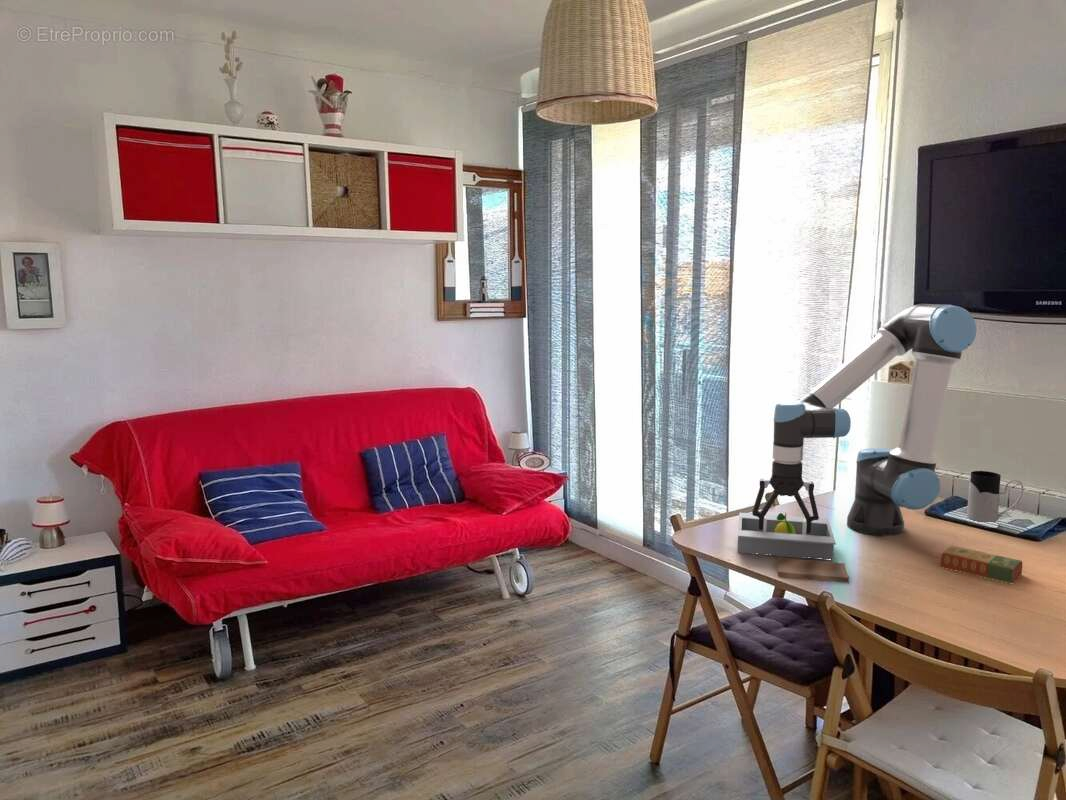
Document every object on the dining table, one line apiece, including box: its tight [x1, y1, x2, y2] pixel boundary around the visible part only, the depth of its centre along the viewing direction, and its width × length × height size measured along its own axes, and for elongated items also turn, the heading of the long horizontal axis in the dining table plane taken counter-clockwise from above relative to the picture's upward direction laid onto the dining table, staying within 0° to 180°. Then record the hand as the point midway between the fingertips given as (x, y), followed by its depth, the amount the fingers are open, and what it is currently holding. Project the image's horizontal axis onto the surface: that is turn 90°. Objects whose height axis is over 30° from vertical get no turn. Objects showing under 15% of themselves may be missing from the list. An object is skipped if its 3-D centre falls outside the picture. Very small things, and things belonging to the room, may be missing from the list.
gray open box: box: [737, 512, 837, 561], centre depth 212 cm, size 24×21×6 cm
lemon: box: [774, 512, 796, 534], centre depth 211 cm, size 7×6×10 cm
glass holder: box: [966, 470, 1024, 522], centre depth 230 cm, size 9×14×15 cm, turn 74°
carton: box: [939, 545, 1023, 584], centre depth 195 cm, size 8×16×4 cm, turn 46°
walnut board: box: [776, 557, 850, 583], centre depth 195 cm, size 16×10×1 cm, turn 75°
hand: (783, 542), depth 212 cm, fingers open, 9 cm apart
